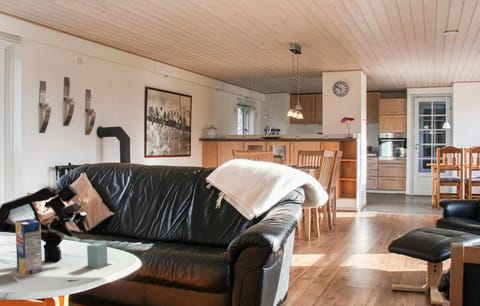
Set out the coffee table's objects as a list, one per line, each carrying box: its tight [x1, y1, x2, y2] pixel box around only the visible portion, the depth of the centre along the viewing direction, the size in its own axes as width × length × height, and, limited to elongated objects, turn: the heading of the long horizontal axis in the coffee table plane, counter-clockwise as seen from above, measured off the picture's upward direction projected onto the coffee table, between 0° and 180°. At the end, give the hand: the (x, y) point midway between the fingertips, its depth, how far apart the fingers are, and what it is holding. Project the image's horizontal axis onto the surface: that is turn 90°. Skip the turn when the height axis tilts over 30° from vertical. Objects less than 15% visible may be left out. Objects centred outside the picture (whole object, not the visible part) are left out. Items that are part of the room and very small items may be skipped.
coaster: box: [83, 262, 113, 270], centre depth 216 cm, size 9×9×1 cm
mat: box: [67, 279, 79, 283], centre depth 201 cm, size 10×10×1 cm
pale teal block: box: [86, 241, 108, 268], centre depth 216 cm, size 6×6×10 cm
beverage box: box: [14, 218, 43, 276], centre depth 209 cm, size 7×11×22 cm, turn 42°
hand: (78, 234), depth 221 cm, fingers open, 9 cm apart
